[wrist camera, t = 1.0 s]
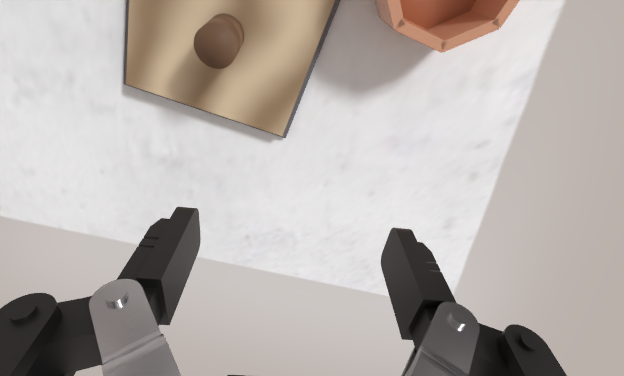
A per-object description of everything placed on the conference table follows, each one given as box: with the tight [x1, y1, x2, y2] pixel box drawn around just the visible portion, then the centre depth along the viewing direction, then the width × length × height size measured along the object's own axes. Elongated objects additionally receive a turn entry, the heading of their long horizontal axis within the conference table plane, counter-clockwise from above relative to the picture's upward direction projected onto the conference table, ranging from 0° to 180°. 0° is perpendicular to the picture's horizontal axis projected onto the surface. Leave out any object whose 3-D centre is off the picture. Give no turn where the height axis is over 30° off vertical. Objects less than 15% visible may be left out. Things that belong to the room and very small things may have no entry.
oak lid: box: [126, 0, 335, 136], centre depth 24 cm, size 15×15×5 cm
